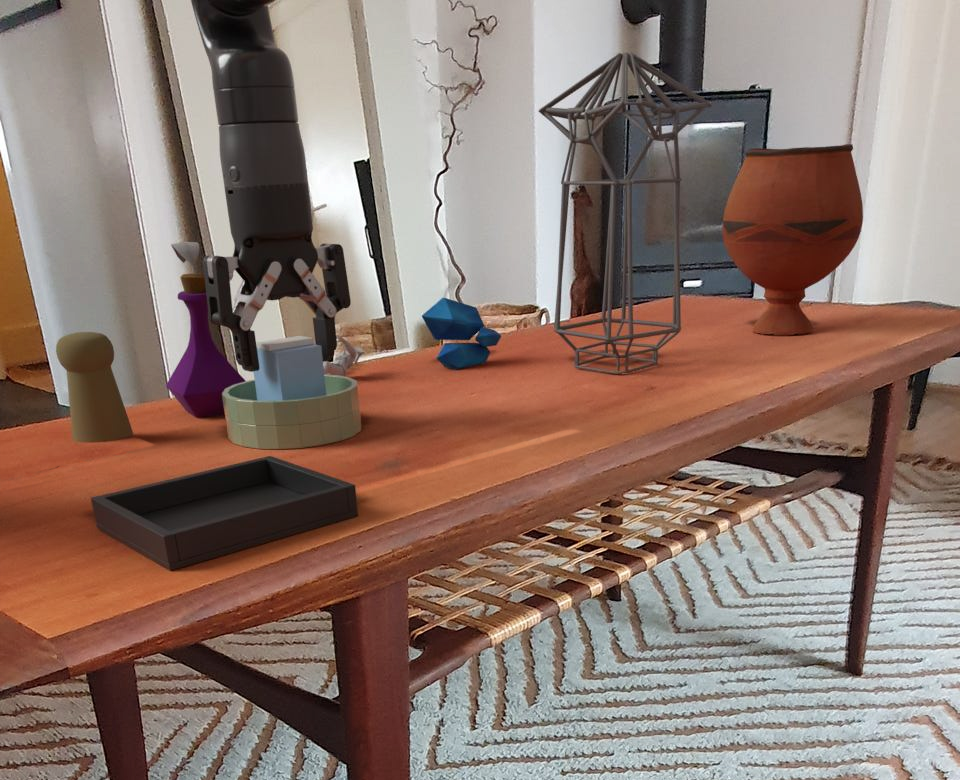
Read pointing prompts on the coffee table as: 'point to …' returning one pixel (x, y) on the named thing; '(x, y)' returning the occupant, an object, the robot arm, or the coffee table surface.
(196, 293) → the perfume bottle
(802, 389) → the coffee table surface
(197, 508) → the tray
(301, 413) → the bowl
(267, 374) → the carton
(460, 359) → the crystal
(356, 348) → the seated figurine
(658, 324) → the geometric lantern
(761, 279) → the goblet
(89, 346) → the cork
